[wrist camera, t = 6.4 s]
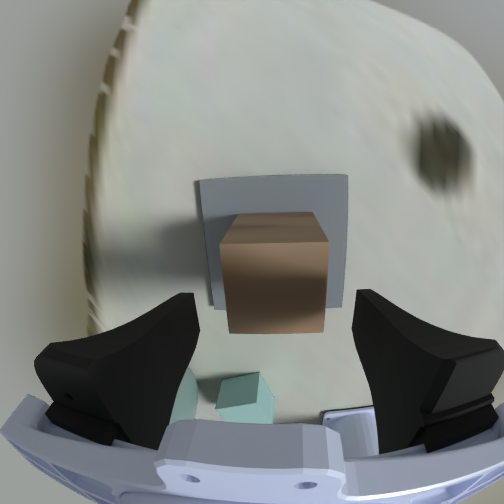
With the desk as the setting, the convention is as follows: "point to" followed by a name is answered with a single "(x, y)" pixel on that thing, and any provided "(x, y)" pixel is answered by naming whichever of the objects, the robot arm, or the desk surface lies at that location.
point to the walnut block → (275, 273)
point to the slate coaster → (274, 201)
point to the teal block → (246, 400)
